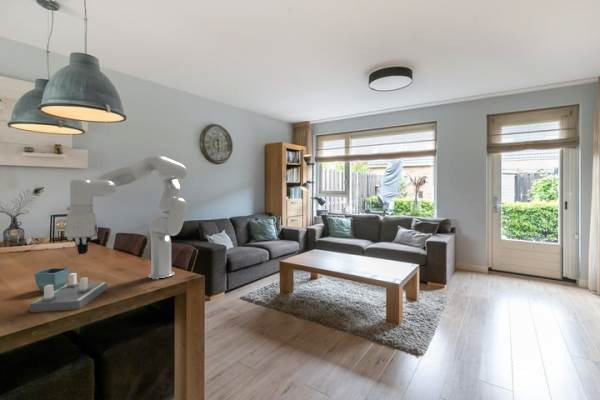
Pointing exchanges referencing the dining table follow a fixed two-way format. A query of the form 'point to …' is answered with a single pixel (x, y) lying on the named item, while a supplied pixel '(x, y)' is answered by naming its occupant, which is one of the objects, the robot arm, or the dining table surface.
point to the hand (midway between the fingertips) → (82, 253)
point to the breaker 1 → (48, 293)
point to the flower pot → (52, 278)
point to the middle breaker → (83, 285)
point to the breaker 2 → (72, 280)
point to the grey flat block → (69, 298)
